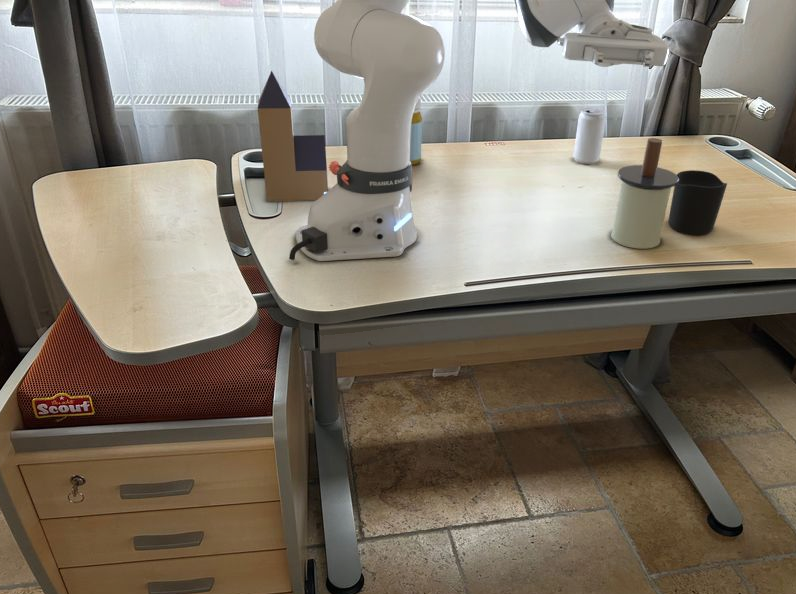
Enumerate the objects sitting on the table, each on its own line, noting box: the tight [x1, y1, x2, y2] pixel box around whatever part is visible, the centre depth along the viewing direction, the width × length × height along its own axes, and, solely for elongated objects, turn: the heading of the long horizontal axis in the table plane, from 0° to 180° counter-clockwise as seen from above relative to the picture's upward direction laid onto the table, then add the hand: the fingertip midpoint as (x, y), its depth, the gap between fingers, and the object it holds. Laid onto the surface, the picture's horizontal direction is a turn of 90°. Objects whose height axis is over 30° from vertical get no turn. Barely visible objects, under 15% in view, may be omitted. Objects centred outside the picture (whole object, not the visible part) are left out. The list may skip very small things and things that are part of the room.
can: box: [610, 180, 672, 250], centre depth 135 cm, size 9×9×12 cm
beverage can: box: [572, 107, 607, 165], centre depth 172 cm, size 6×6×12 cm
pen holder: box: [667, 169, 728, 236], centre depth 141 cm, size 9×9×10 cm
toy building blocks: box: [257, 70, 329, 203], centre depth 149 cm, size 12×19×25 cm, turn 10°
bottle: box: [410, 96, 423, 166], centre depth 167 cm, size 7×7×15 cm
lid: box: [617, 137, 679, 189], centre depth 129 cm, size 11×11×7 cm
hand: (624, 60), depth 133 cm, fingers open, 8 cm apart
